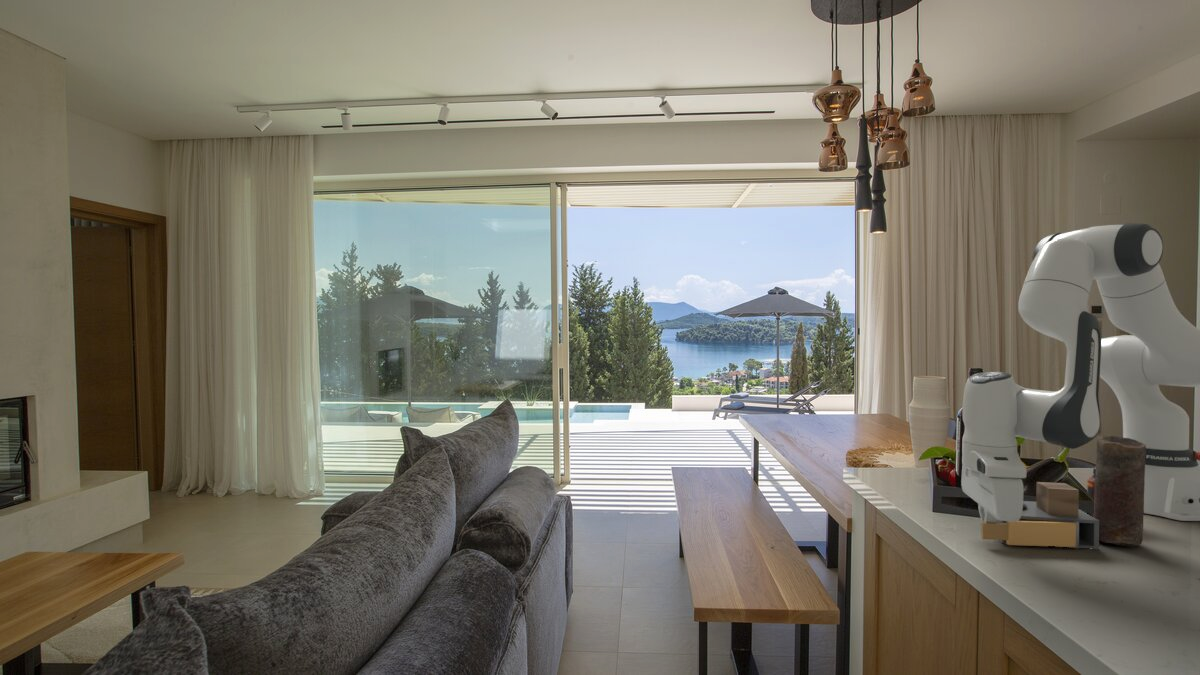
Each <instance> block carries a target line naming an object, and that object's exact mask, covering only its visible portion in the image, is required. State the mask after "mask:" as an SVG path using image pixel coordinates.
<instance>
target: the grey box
mask: <svg viewBox="0 0 1200 675" xmlns="http://www.w3.org/2000/svg"><path fill="white" fill-rule="evenodd" d="M1019 521H1045V522H1074V521H1077V522H1079V548H1092V549H1091V550H1093V549H1099V550H1100V540H1099V520H1097V519H1096V518H1094V517H1092V516H1090V515H1089V514H1087V512H1085V511H1083V510H1082V509H1079V508H1078V516H1065V515H1048V514H1047V513H1045V512H1044V511H1042V510H1040V509H1039V508H1037V507H1036V501H1032V500H1031V501H1028V500H1023V509H1022V516H1021V518H1020V520H1019ZM996 523H1007V521H1000V520H997V522H996ZM998 541H999V542H1000V543H1001V544H1004V545H1005V544H1006V540H998ZM1006 545H1007V544H1006ZM1054 548H1059V547H1058V546H1055V547H1054ZM1067 549H1075V548H1074V547H1069V548H1068V547H1067Z"/></svg>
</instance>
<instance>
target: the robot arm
mask: <svg viewBox="0 0 1200 675" xmlns="http://www.w3.org/2000/svg"><path fill="white" fill-rule="evenodd" d="M1163 253H1164V242H1163V238H1162V236H1161V234H1160V232H1159V231H1158V230H1157V229H1156V228H1154V227H1153V226H1152V225H1150V224H1148V223H1144V222H1143V223H1142V222H1127V223H1125V224H1106V225H1095V226H1090V227H1087V228H1081V229H1076V230H1075V229H1074V230H1072V231H1065V232H1057V233H1053V234H1049V235H1047V236H1045V237H1043V238H1042V239H1041V240H1039V242H1038V243H1037V244H1036V245H1035V247H1034V249H1033V251H1032V256H1031V257H1032V260H1031V261H1032V262H1031V264H1030V266H1029V269H1028V270H1027V274H1026V276H1025V279H1024V281H1023V285H1022V289H1021V291H1020V293H1019V294H1020V295H1019V299H1018V303H1017V304H1018V305H1017V306H1018V307H1017V308H1018V309H1017V310H1018V313H1019V315H1020V317H1021V319H1022V320H1023V321H1024V323H1025V324H1026V325H1027V326H1029V327H1030V328H1032V329H1033V330H1034V331H1036V332H1038V333H1040V334H1042V335H1045V336H1047V337H1049V338H1052V339H1055V340H1058V341H1060V342H1062V343H1064V345H1065V347H1066V358H1065V360H1066V362H1065V373H1064V385H1063V387H1062V388H1061V389H1059V390H1056V391H1054V390H1044V389H1042V390H1041V389H1033V388H1026V387H1024V386H1021V385H1019V384H1018V383H1016V382H1015V379H1014V377H1013V375H1012V374H1010V373H1009V372H1004V371H983V372H978V373H977V372H976V373H974V374H972V375H969V377H968V378H967V380H966V383H965V386H964V390H963V399H962V422H963V425H964V431H963V436H962V441H961V442H962V444H961V446H962V447H961V453H962V454H961V455H962V456H961V464H962V467H961V468H962V469H961V480H960V483H961V484H960V486H961V489H962V492H963V493H964V494H965V495H967V496H968V497H969V498H971V500H973V501H974V502H975V503H977V506H978V507H977V508H978V513H979V516H980V517H979V518H980V523H981V522H985V523H996V522H997V520H1000V521H1015V522H1017V521H1019V520H1020V518H1021V516H1022V509H1023V501H1024V494H1025V493H1024V489H1025V488H1024V482H1023V480H1022V479H1026V478H1027V476H1028V475H1027V473H1028V472H1027V470H1028V469H1027V467H1026V465H1025V464H1024V462H1023V461H1022V460H1021V458H1020V455H1019V453H1018V442H1017V439H1016V437H1018V438H1022V439H1027V440H1033V441H1036V442H1037V441H1039V442H1044V443H1048V444H1051V445H1055V446H1058V447H1059V446H1060V447H1061V448H1062V447H1063V448H1066V449H1070V450H1071V449H1072V450H1073V449H1078V448H1081V447H1082V446H1084V445H1086V444H1088V443H1089V442H1091V441H1092V440H1094V439H1095V438H1096V437H1097V436H1098V435H1099V432H1100V428H1101V423H1102V422H1101V408H1100V402H1099V401H1100V399H1099V398H1100V397H1099V396H1100V395H1099V394H1100V393H1099V392H1100V380H1101V379H1102V380H1103V381H1104V382H1105V383H1106V384H1107V385H1108V386H1109V387H1110V388H1111V390H1112V391H1113V393H1114V394H1115V396H1116V398H1117V400H1118V403H1119V406H1120V410H1121V414H1122V416H1121V418H1122V437H1123V438H1130V439H1133V440H1136V441H1138V442H1141V443H1143V444H1144V445H1146V453H1145V480H1144V482H1145V485H1144V514H1147V515H1154V516H1158V517H1164V518H1166V519H1167V518H1168V519H1172V520H1176V521H1183V522H1200V466H1199V462H1198V461H1200V451H1198V452H1197V451H1195V450H1194V449H1191V448H1190V416H1189V415H1188V413H1187V412H1186V410H1185V409H1184V408H1183V407H1181V406H1180V405H1178V404H1176V403H1175V402H1172V401H1170V400H1169V399H1167V398H1166V397H1165V396H1164V394H1163V392H1162V391H1161V389H1160V385H1161V386H1171V387H1173V386H1174V387H1187V388H1196V387H1197V388H1199V387H1200V329H1199V328H1197V327H1196V326H1195V325H1194V324H1192V323H1191V322H1190V321H1189V320H1188V319H1187V318H1186V317H1185V316H1183V314H1181V312H1180V310H1179V309H1178V308H1177V306H1176V304H1175V302H1174V299H1173V297H1172V294H1171V292H1170V289H1169V287H1168V284H1167V281H1166V278H1165V275H1164V272H1163V270H1162V267H1161V265H1160V262H1161V260H1162V258H1163ZM1093 281H1096V284H1097V289H1098V290H1099V294H1100V297H1101V300H1102V303H1103V306H1104V309H1105V311H1106V314H1107V317H1108V319H1109V321H1110V322H1111V324H1112V325H1113V326H1114V327H1115V328H1117V329H1119V330H1121V331H1123V332H1126V333H1128V334H1129V335H1127V334H1123V335H1113V336H1109V337H1103V338H1102V330H1101V329H1102V328H1101V324H1100V322H1099V318H1097V317H1096V316H1095V315H1094V314H1092V313H1090V311H1089V310H1090V309H1089V306H1088V305H1089V298H1090V294H1091V290H1092V286H1093V285H1092V284H1093ZM1100 378H1101V379H1100Z"/></svg>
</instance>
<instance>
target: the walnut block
mask: <svg viewBox="0 0 1200 675" xmlns="http://www.w3.org/2000/svg"><path fill="white" fill-rule="evenodd" d="M1079 492H1080V490H1079V489H1078V488H1075V487H1074V486H1071V485H1070V484H1068V483H1066V482H1049V481H1048V482H1044V481H1042V482H1041V481H1036V493H1035V494H1036V495H1035V497H1036V498H1035V500H1036V501H1035V502H1036V507H1037V508H1039V509H1040V510H1042V511H1044V512H1045V513H1047V514H1048V515H1065V516H1078V509H1079V507H1080V506H1079V504H1080V502H1079V500H1080V499H1079V498H1080V495H1079Z"/></svg>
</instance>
